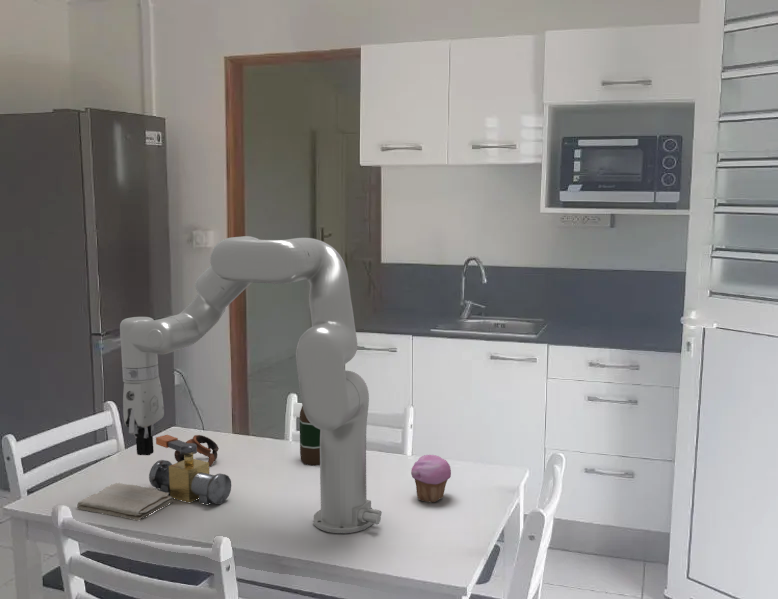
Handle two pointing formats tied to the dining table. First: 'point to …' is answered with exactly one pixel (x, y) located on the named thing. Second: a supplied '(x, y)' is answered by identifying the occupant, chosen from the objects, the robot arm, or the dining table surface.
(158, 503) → the washcloth
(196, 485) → the valve body
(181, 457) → the brown curved band
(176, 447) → the lever
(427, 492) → the cupcake
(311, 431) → the beer bottle
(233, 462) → the dining table surface
